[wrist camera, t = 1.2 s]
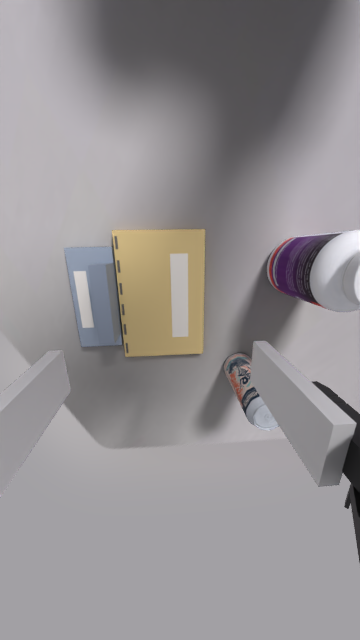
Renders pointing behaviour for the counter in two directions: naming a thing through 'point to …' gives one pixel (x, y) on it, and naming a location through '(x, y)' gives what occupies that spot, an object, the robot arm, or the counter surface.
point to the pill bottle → (319, 269)
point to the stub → (95, 295)
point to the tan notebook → (161, 290)
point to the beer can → (248, 392)
